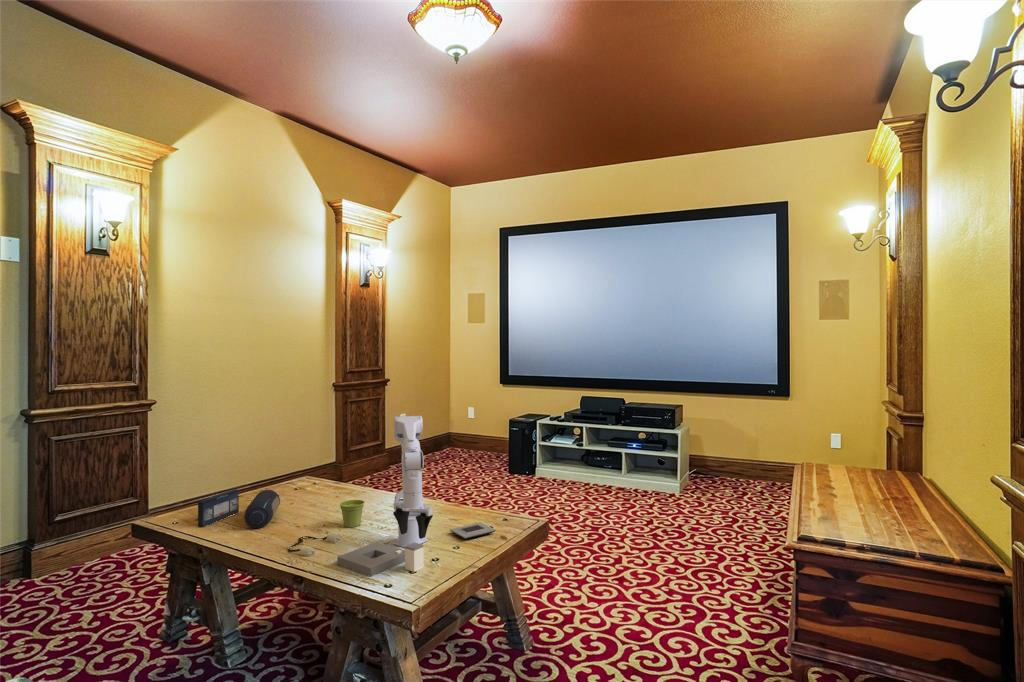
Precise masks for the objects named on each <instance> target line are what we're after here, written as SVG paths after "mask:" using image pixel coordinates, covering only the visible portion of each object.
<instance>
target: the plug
mask: <svg viewBox="0 0 1024 682" xmlns="http://www.w3.org/2000/svg"><path fill="white" fill-rule="evenodd" d="M424 547H425V546H424V544H423V543H421V544H418V543H415V542H414V543H412V544H409V545H407V546H405V547H404V550H405V562H404V569H405V570H408V571H410V572H413V571H414V572H413V573H415V572H417V571H419V570H421V568H422V569H423V568H424V567H425V566H424V564H425V563H424V562H425V561H424V559H425V557H424V555H425V554H424Z"/></svg>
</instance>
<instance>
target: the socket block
mask: <svg viewBox="0 0 1024 682" xmlns="http://www.w3.org/2000/svg"><path fill="white" fill-rule="evenodd" d="M374 557H375V558H374ZM336 560H337V565H338V564H339V565H338V566H340V565H342V566H341V567H343V566H345V567H344V568H346V567H347V568H346V569H349V568H350V569H349V570H351V569H353V570H352V571H354V570H356V571H355V572H357V571H358V572H357V573H360V574H362V573H363V575H365V574H366V576H368V575H369V577H373V575H374V576H375V574H376V575H378V574H380V572H381V573H382V572H385V571H387V570H390V569H392V568H394V567H397V566H399V565H401V564H403V563H404V564H405V549H402V548H399V547H396V546H392V545H388V544H387V543H383V542H379V541H375V542H373V543H369V544H367V545H364V546H361V547H359V548H356V549H354V550H351V551H348V552H346V553H343V554H340V555H338V556H337V559H336Z"/></svg>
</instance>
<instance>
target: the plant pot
mask: <svg viewBox="0 0 1024 682" xmlns="http://www.w3.org/2000/svg"><path fill="white" fill-rule="evenodd" d="M365 502H366V501H365V500H362V499H348V500H343V501H341V502H340V503H338V504H339V506H340V510H341V514H342V516H341V517H342V521H343V526H346V527H345V528H348V527H353V528H356V527H355V526H357V527H358V526H359V525H360V524H362V516H363V508H364V505H365ZM360 526H361V525H360ZM360 526H359V527H360Z"/></svg>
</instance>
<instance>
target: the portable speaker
mask: <svg viewBox="0 0 1024 682" xmlns="http://www.w3.org/2000/svg"><path fill="white" fill-rule="evenodd" d="M280 505H281V498H280V495H279V494H278V493H277V491H274V490H273V489H265V490H262V491H259V492H258V493H257V494H256V495H255V497H254V498H253V499H252V500H251V502H250V503H249V504H248V506H247V508H246V509H245V511H244V517H243V518H244V522H245V523H246V525H247V526H248V527H250V528H254V529H260V527H261V528H263V527H266V526H267V525H268V524H269V523H270V522H271V520H273V517H274V515H275V513H276V512H277V510H278V509H279V507H280Z"/></svg>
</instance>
